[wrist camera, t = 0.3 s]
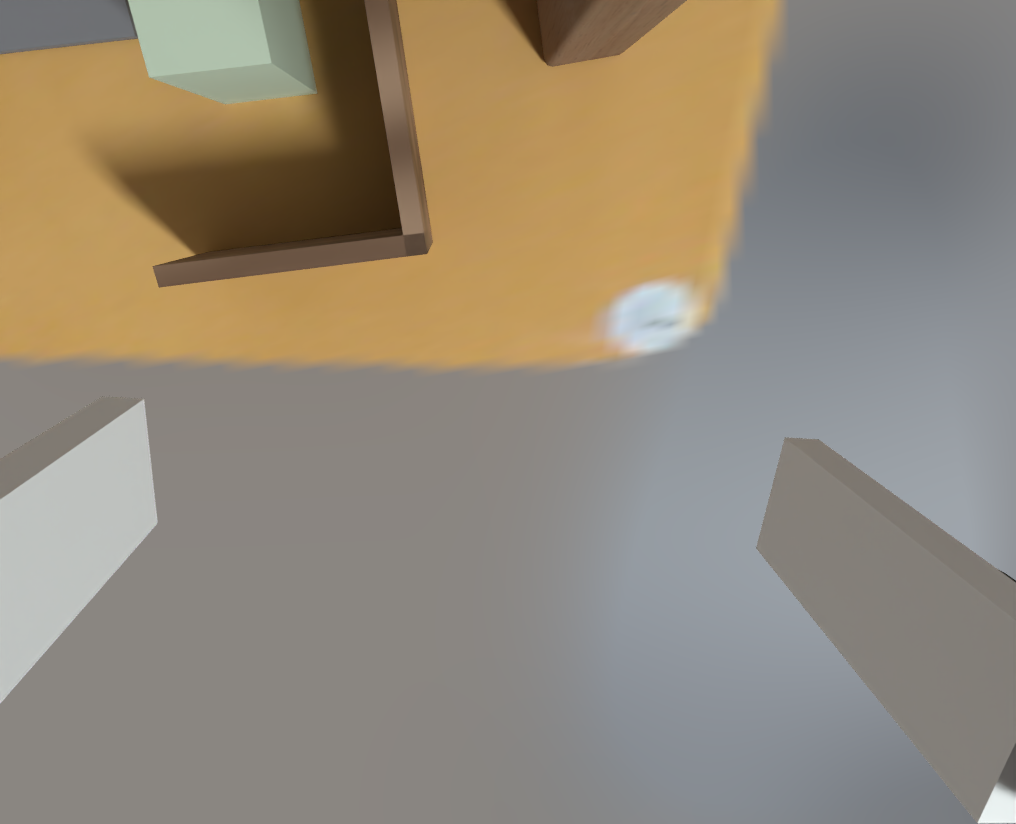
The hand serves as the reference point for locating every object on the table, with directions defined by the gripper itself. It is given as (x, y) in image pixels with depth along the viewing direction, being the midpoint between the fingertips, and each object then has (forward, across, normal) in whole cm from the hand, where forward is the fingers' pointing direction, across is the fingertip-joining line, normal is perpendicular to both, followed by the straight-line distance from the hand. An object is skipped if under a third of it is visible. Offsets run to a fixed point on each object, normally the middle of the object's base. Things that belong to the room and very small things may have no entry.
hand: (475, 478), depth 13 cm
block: (+27, -12, +11) cm, 32 cm away
